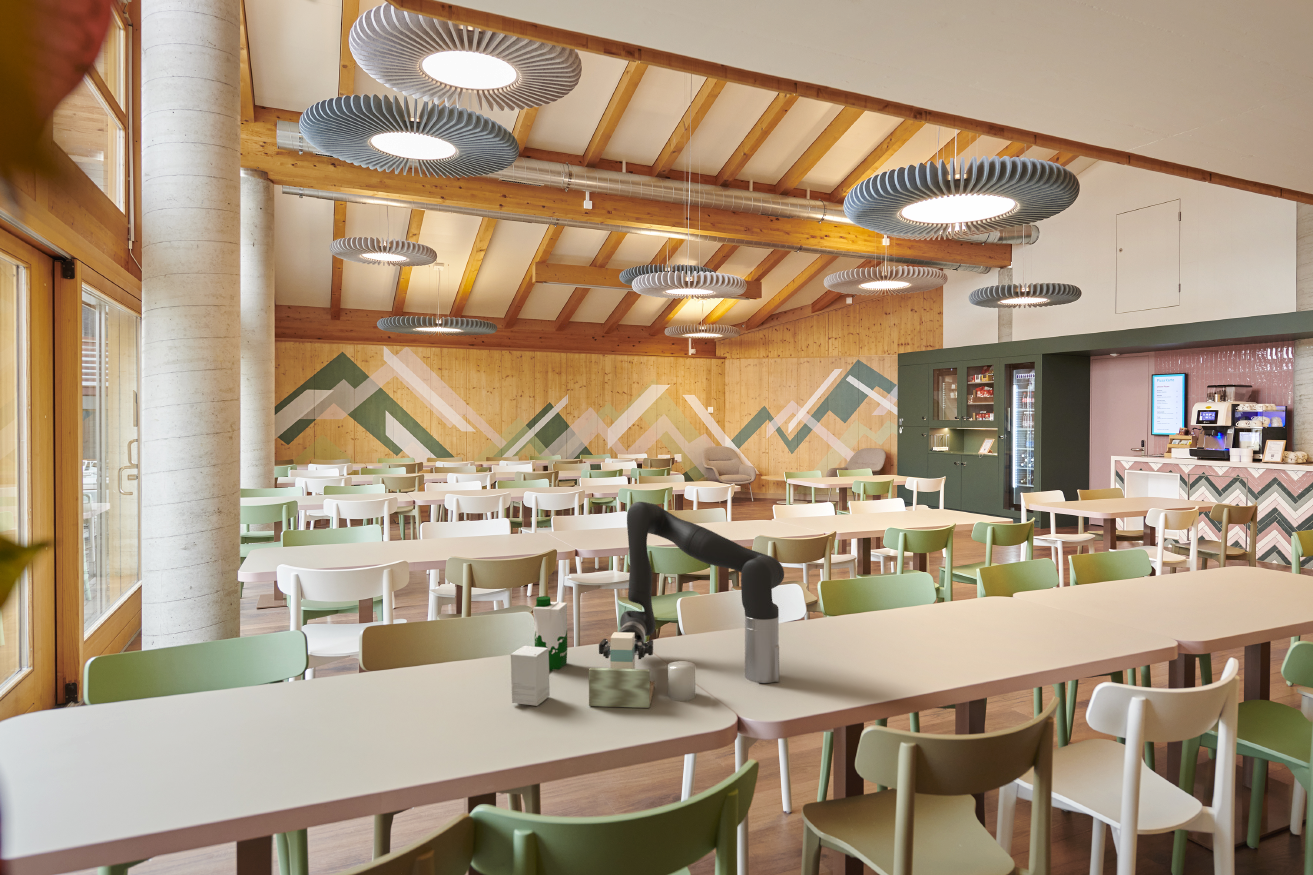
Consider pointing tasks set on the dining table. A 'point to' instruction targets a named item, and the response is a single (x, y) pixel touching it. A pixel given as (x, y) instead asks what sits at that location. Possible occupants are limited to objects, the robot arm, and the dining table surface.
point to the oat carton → (622, 650)
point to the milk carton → (551, 630)
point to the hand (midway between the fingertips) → (623, 654)
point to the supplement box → (530, 675)
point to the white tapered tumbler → (681, 681)
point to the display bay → (620, 687)
